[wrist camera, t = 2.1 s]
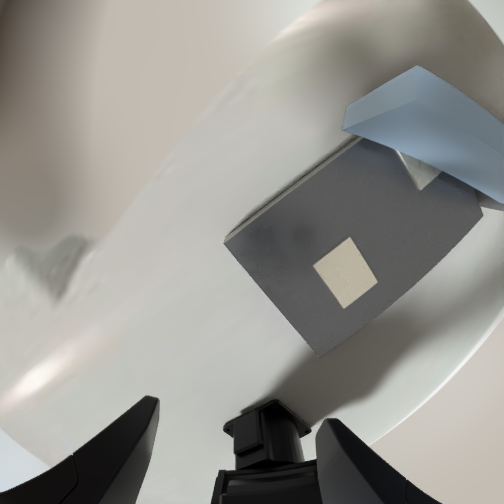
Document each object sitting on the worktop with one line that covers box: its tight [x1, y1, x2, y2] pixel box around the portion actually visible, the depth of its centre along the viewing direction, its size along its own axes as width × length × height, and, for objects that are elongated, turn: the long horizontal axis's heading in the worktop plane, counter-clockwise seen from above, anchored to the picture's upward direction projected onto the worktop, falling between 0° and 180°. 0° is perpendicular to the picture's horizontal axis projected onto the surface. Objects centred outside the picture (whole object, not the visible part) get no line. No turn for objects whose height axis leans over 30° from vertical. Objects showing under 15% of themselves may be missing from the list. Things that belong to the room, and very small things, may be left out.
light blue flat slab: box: [342, 65, 504, 211], centre depth 13 cm, size 17×2×11 cm, turn 78°
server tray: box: [224, 136, 483, 357], centre depth 18 cm, size 11×18×2 cm, turn 128°
